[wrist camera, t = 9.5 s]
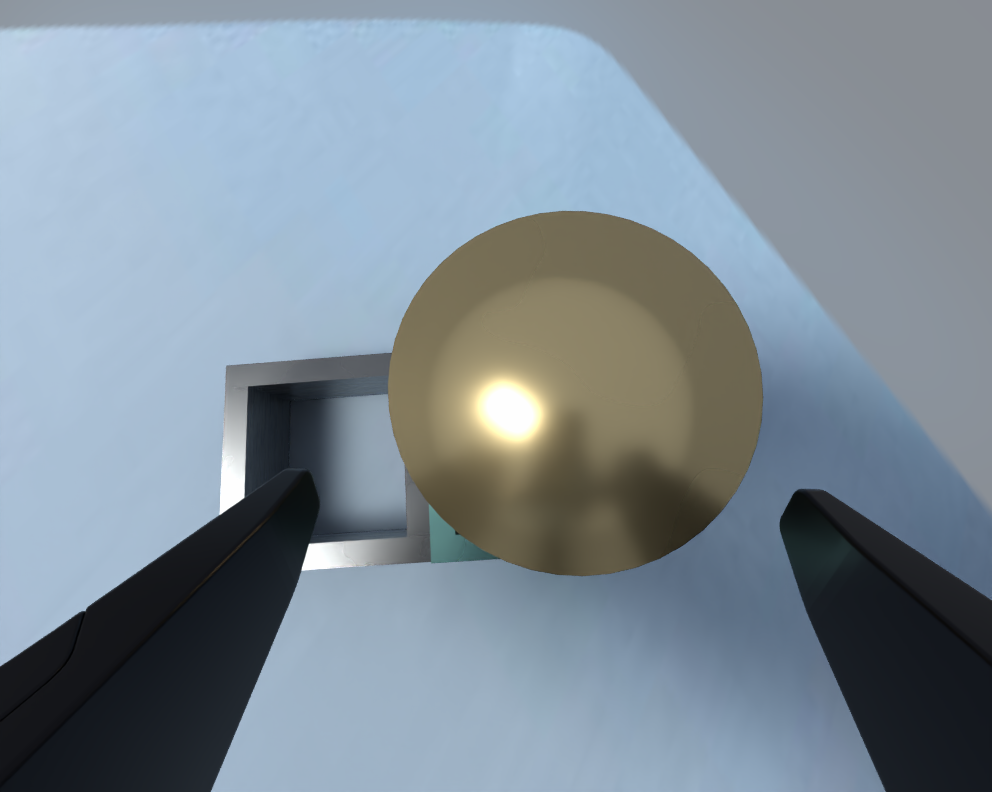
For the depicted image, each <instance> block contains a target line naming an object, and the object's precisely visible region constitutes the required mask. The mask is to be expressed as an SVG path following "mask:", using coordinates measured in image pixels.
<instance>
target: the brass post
mask: <svg viewBox="0 0 992 792" xmlns="http://www.w3.org/2000/svg"><path fill="white" fill-rule="evenodd" d="M388 398H389V412H390V417H391V423H392V428H393V433H394V437H395V440H396V443H397V446H398V449H399V452H400V455H401V458H402V460H403V462H404V464H405V466H406V468H407V470H408V472H409V474H410V476H411V478H412V480H413V481H414V483H415V484H416V486H417V488H418V489H419V491H420V492H421V494H422V495H423V497H424V498H425V500H426V501H427V502H428V503H429V504H430V505H431V507H432V508H433V509H434V510H435V511H436V512H437V514H438V515H439V516H440V517H441V518H442V519H443V520H444V521H445V522H446V523H447V524H449V525H450V526H451V527H452V528H453V529H454V530H455V531H457V532H458V533H459V534H460V535H461V536H463V537H464V538H465V539H467V540H468V541H470V542H471V543H473V544H474V545H476V546H477V547H479V548H480V549H482V550H484V551H486V552H488V553H490V554H492V555H494V556H496V557H498V558H500V559H502V560H504V561H506V562H509V563H512V564H515V565H518V566H521V567H524V568H527V569H530V570H535V571H540V572H545V573H551V574H556V575H572V576H590V575H601V574H611V573H615V572H620V571H624V570H628V569H633V568H636V567H639V566H642V565H644V564H647V563H649V562H652V561H655V560H657V559H660V558H662V557H663V556H665V555H667V554H669V553H671V552H672V551H674V550H676V549H678V548H680V547H681V546H683V545H684V544H686V543H687V542H688V541H690V540H691V539H692V538H694V537H695V536H696V535H697V534H699V533H700V532H701V531H703V530H704V529H705V528H706V527H707V526H708V525H709V524H710V523H711V522H712V521H713V520H714V519H715V518H716V517H717V516H718V515H719V514H720V513H721V511H722V510H723V509H724V507H725V506H726V505H727V503H728V502H729V500H730V499H731V498H732V496H733V495H734V494H735V492H736V491H737V489H738V487H739V485H740V483H741V481H742V479H743V478H744V476H745V474H746V472H747V470H748V468H749V465H750V462H751V459H752V457H753V454H754V451H755V448H756V445H757V441H758V436H759V431H760V426H761V421H762V406H763V389H762V375H761V369H760V364H759V359H758V354H757V350H756V347H755V344H754V341H753V338H752V335H751V333H750V330H749V327H748V325H747V323H746V321H745V319H744V317H743V315H742V313H741V311H740V309H739V307H738V305H737V304H736V302H735V301H734V299H733V298H732V296H731V295H730V293H729V292H728V290H727V289H726V287H725V286H724V285H723V284H722V283H721V281H720V280H719V279H718V278H717V277H716V276H715V275H714V273H713V272H712V271H711V270H710V269H709V268H708V267H707V266H706V265H705V264H704V263H703V262H701V261H700V260H699V259H698V258H697V257H696V256H695V255H694V254H692V253H691V252H690V251H688V250H687V249H686V248H684V247H683V246H681V245H680V244H678V243H677V242H675V241H674V240H673V239H671V238H669V237H667V236H665V235H663V234H661V233H659V232H658V231H656V230H654V229H652V228H649V227H647V226H644V225H642V224H639V223H636V222H634V221H631V220H628V219H624V218H620V217H616V216H612V215H608V214H601V213H594V212H586V211H558V212H549V213H539V214H535V215H531V216H526V217H522V218H518V219H515V220H512V221H509V222H506V223H504V224H501V225H498V226H496V227H494V228H492V229H490V230H488V231H486V232H484V233H482V234H480V235H478V236H476V237H474V238H473V239H471V240H470V241H468V242H467V243H465V244H464V245H462V246H461V247H459V248H458V249H457V250H456V251H454V252H453V253H452V254H451V255H450V256H449V257H448V258H446V259H445V260H444V261H443V262H442V263H441V264H440V265H439V266H438V267H437V268H436V269H435V270H434V271H433V273H432V274H431V275H430V276H429V277H428V278H427V279H426V280H425V282H424V283H423V285H422V286H421V288H420V289H419V291H418V292H417V293H416V295H415V296H414V298H413V300H412V301H411V303H410V305H409V307H408V309H407V311H406V313H405V315H404V317H403V319H402V322H401V324H400V327H399V330H398V333H397V336H396V338H395V342H394V346H393V351H392V355H391V360H390V367H389V379H388Z"/></svg>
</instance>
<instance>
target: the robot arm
mask: <svg viewBox="0 0 992 792" xmlns="http://www.w3.org/2000/svg"><path fill="white" fill-rule="evenodd" d="M319 508H320V499H319V495H318V492H317V489H316V486H315V482H314V479H313V476H312V473H311V472H310V471H309V470H308V469H302V468H288V469H285V470H283V471H282V472H280V473H279V474H277V475H276V476H275V477H273V478H272V479H270V480H269V481H267V482H266V483H265V484H263V485H262V486H260V487H259V488H257V489H256V490H255V491H253V492H252V493H250V494H249V495H247V496H246V497H244V498H243V499H242V500H240V501H239V502H237V503H236V504H234V505H233V506H232V507H230V508H229V509H227V510H226V511H224V512H223V513H222V514H220V515H219V516H217V517H216V518H214V519H213V520H212V521H210V522H209V523H207V524H206V525H204V526H203V527H201V528H200V529H199V530H197V531H196V532H194V533H193V534H191V535H190V536H189V537H187V538H186V539H184V540H183V541H181V542H180V543H179V544H177V545H176V546H174V547H173V548H171V549H170V550H169V551H167V552H166V553H164V554H163V555H161V556H160V557H158V558H157V559H156V560H154V561H153V562H151V563H150V564H148V565H147V566H146V567H144V568H143V569H141V570H140V571H138V572H137V573H136V574H134V575H133V576H131V577H130V578H128V579H127V580H126V581H124V582H123V583H121V584H120V585H118V586H117V587H115V588H114V589H113V590H111V591H110V592H108V593H107V594H105V595H104V596H103V597H101V598H100V599H98V600H97V601H95V602H94V603H92V604H91V605H90V606H88V607H87V609H86V612H85V611H81V612H79V613H78V614H77V615H75V616H74V617H72V618H71V619H69V620H68V621H66V622H65V623H64V624H62V625H61V626H59V627H58V628H56V629H55V630H54V631H52V632H51V633H49V634H48V635H46V636H45V637H43V638H42V639H40V640H39V641H37V642H36V643H34V644H33V645H31V646H30V647H28V648H27V649H26V650H24V651H23V652H21V653H20V654H18V655H17V656H15V657H14V658H12V659H11V660H9V661H8V662H6V663H5V664H3V665H2V666H0V792H211V790H212V788H213V785H214V783H215V780H216V778H217V776H218V773H219V771H220V768H221V766H222V764H223V761H224V759H225V756H226V754H227V752H228V749H229V747H230V745H231V742H232V740H233V737H234V735H235V733H236V730H237V728H238V725H239V723H240V721H241V718H242V716H243V713H244V711H245V709H246V706H247V704H248V701H249V699H250V697H251V694H252V692H253V689H254V687H255V685H256V682H257V680H258V677H259V675H260V673H261V670H262V668H263V666H264V663H265V661H266V658H267V656H268V654H269V651H270V649H271V646H272V644H273V642H274V639H275V637H276V634H277V632H278V630H279V627H280V625H281V622H282V620H283V618H284V615H285V613H286V610H287V608H288V606H289V603H290V601H291V598H292V596H293V593H294V591H295V588H296V586H297V583H298V580H299V576H300V573H301V570H302V567H303V563H304V560H305V557H306V553H307V550H308V546H309V543H310V540H311V536H312V533H313V530H314V526H315V523H316V519H317V516H318V513H319ZM780 532H781V535H782V538H783V542H784V545H785V548H786V551H787V554H788V557H789V560H790V563H791V566H792V569H793V572H794V576H795V579H796V582H797V585H798V588H799V591H800V594H801V597H802V600H803V603H804V606H805V608H806V611H807V614H808V616H809V619H810V621H811V623H812V626H813V628H814V630H815V633H816V635H817V637H818V639H819V642H820V644H821V646H822V648H823V651H824V653H825V655H826V658H827V660H828V662H829V664H830V667H831V669H832V671H833V673H834V676H835V678H836V680H837V682H838V685H839V687H840V689H841V691H842V694H843V696H844V698H845V701H846V703H847V705H848V707H849V710H850V712H851V714H852V716H853V719H854V721H855V723H856V725H857V728H858V730H859V732H860V734H861V737H862V739H863V741H864V744H865V746H866V748H867V750H868V753H869V755H870V757H871V759H872V762H873V764H874V766H875V768H876V771H877V773H878V775H879V777H880V780H881V782H882V784H883V787H884V789H885V791H886V792H992V600H990V599H989V598H987V597H986V596H984V595H983V594H981V593H980V592H978V591H977V590H975V589H974V588H972V587H971V586H969V585H968V584H966V583H965V582H963V581H962V580H960V579H959V578H957V577H955V576H954V575H952V574H951V573H949V572H948V571H946V570H945V569H943V568H942V567H940V566H939V565H937V564H936V563H934V562H933V561H931V560H930V559H928V558H927V557H925V556H924V555H922V554H921V553H919V552H917V551H916V550H914V549H913V548H911V547H910V546H908V545H907V544H905V543H904V542H902V541H901V540H899V539H898V538H896V537H895V536H893V535H892V534H890V533H889V532H887V531H886V530H884V529H883V528H881V527H879V526H878V525H876V524H875V523H873V522H872V521H870V520H869V519H867V518H866V517H864V516H863V515H861V514H860V513H858V512H857V511H855V510H854V509H852V508H851V507H849V506H848V505H846V504H845V503H843V502H841V501H840V500H838V499H837V498H835V497H834V496H832V495H831V494H829V493H828V492H826V491H824V490H820V489H798V490H797V491H795V492H794V494H793V495H792V497H791V499H790V501H789V503H788V505H787V507H786V509H785V511H784V513H783V515H782V516H781V519H780Z"/></svg>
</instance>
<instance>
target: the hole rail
mask: <svg viewBox="0 0 992 792" xmlns="http://www.w3.org/2000/svg"><path fill="white" fill-rule="evenodd" d="M391 355H392V353H383V354H370V355H358V356H345V357H332V358H319V359H306V360H293V361H281V362H268V363H255V364H242V365H229V366H226V383H225V406H224V429H223V453H222V476H221V499H220V514H222V513H223V512H224V511H226V510H227V509H229V508H230V507H232V506H233V505H234V504H236V503H237V502H239V501H240V500H242V499H243V498H244V497H246V496H247V495H249V494H250V493H252V492H253V491H255V490H256V489H257V488H259V487H260V486H262V485H263V484H265V483H266V482H267V481H269V480H270V479H272V478H273V477H275V476H276V475H277V474H279V473H280V472H282V471H283V470H285V469H288V468H289V433H290V401H297V400H311V399H324V398H337V397H350V396H363V395H377V394H388V379H389V367H390V360H391ZM405 485H406V517H407V529H395V530H381V531H366V532H351V533H337V534H322V535H312V536H311V540H310V543H309V546H308V550H307V553H306V557H305V560H304V563H303V567H302V570H313V569H329V568H344V567H359V566H374V565H389V564H404V563H419V562H431V563H444V562H459V561H474V560H489V559H500V558H498V557H496V556H494V555H492V554H490V553H488V552H486V551H484V550H482V549H480V548H479V547H477V546H476V545H474V544H473V543H471V542H470V541H468V540H467V539H465V538H464V537H463V536H461V535H460V534H459V533H458V532H457V531H455V530H454V529H453V528H452V527H451V526H450V525H449V524H447V523H446V522H445V521H444V520H443V519H442V518H441V517H440V516H439V515H438V514H437V512H436V511H435V510H434V509H433V508H432V507H431V505H430V504H429V503H428V502H427V501H426V500H425V498H424V497H423V495H422V494H421V492H420V491H419V489H418V488H417V486H416V484H415V483H414V481H413V480H412V478H411V476H410V474H409V472H408V470H407V468H406V466H405Z"/></svg>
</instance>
